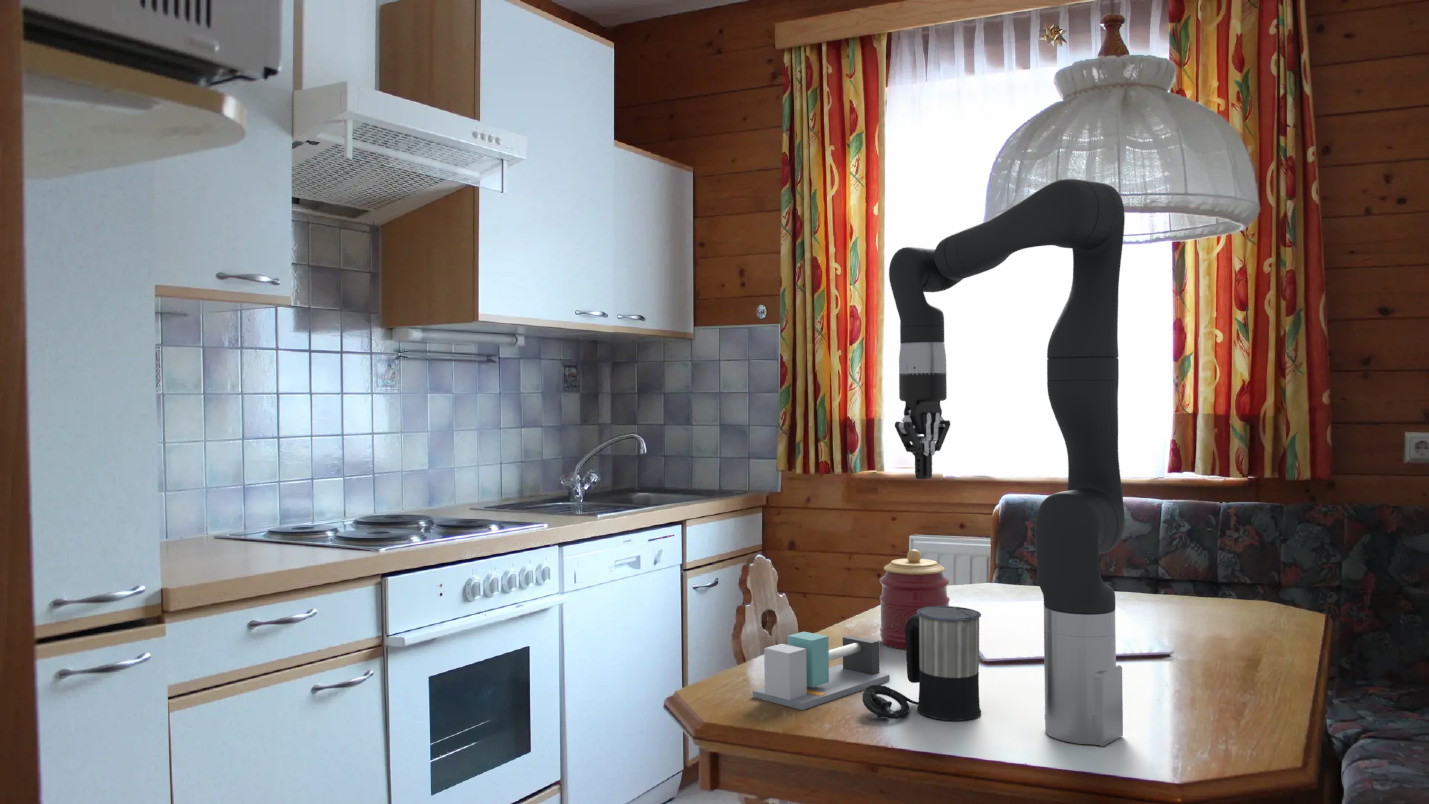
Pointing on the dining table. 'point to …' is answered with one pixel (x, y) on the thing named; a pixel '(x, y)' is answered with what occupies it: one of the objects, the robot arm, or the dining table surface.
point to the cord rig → (853, 676)
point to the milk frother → (937, 666)
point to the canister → (909, 594)
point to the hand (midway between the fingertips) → (923, 478)
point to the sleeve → (813, 656)
